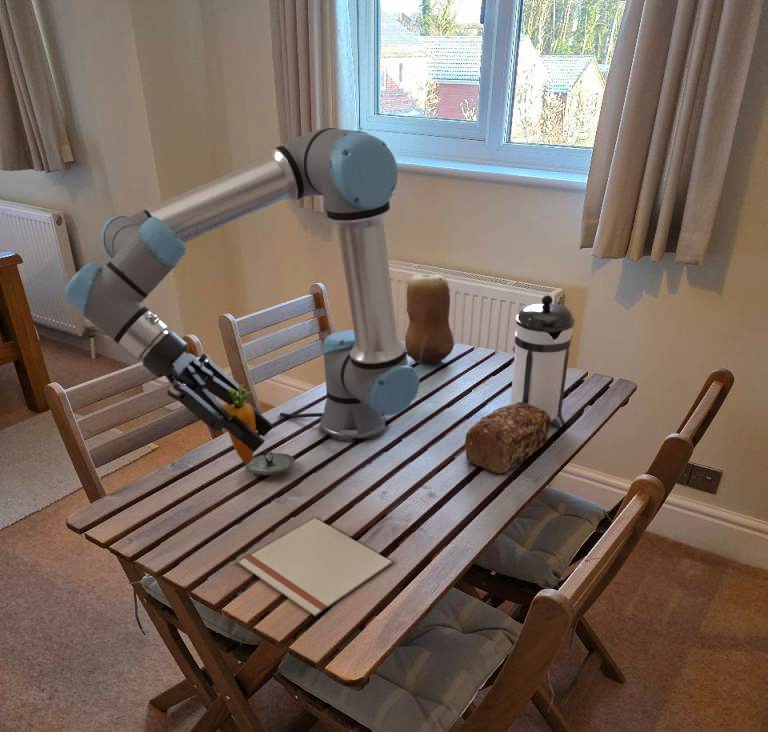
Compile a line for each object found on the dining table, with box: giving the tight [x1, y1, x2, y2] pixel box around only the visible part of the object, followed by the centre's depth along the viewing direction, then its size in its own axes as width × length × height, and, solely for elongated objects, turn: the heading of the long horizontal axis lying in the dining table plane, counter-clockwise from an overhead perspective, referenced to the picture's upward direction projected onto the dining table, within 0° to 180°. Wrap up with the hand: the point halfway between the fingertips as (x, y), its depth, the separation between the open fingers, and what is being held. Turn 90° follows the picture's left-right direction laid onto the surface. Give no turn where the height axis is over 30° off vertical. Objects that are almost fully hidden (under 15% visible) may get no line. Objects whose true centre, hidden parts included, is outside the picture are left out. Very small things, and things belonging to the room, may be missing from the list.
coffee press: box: [509, 294, 576, 428], centre depth 160 cm, size 17×16×30 cm
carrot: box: [225, 383, 257, 465], centre depth 119 cm, size 5×5×15 cm
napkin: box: [238, 517, 393, 617], centre depth 121 cm, size 20×18×1 cm
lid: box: [245, 450, 296, 476], centre depth 147 cm, size 11×10×5 cm
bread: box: [464, 402, 551, 474], centre depth 150 cm, size 19×11×10 cm, turn 137°
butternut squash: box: [404, 273, 454, 366], centre depth 191 cm, size 14×13×25 cm
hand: (263, 438), depth 120 cm, fingers closed on carrot, 5 cm apart
